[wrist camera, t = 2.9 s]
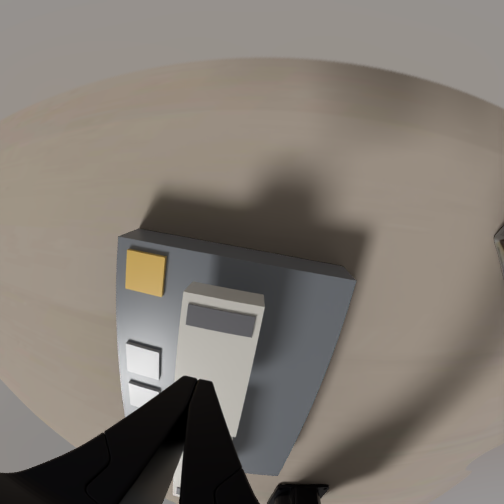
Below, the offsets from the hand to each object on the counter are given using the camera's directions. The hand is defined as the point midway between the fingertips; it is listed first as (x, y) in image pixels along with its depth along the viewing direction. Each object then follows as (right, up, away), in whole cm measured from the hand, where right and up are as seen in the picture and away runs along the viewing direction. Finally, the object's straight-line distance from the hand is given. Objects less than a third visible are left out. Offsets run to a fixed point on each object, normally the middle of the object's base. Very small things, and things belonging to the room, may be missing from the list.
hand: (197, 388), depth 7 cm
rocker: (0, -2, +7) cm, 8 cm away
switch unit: (-1, -5, +13) cm, 14 cm away
